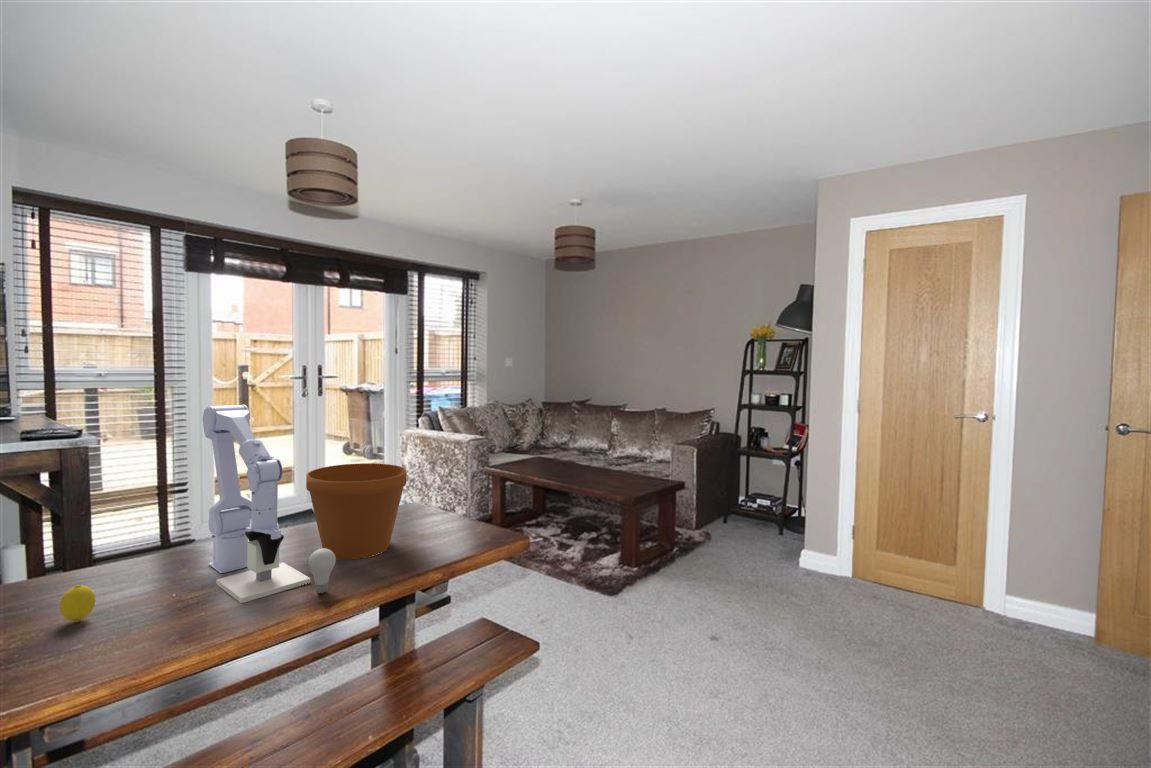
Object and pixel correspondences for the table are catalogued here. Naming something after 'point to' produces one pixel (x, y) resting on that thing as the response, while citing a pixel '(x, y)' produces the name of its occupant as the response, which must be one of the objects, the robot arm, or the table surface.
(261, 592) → the post board
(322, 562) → the lightbulb
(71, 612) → the lemon
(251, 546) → the pale green block
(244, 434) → the robot arm
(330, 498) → the flowerpot
